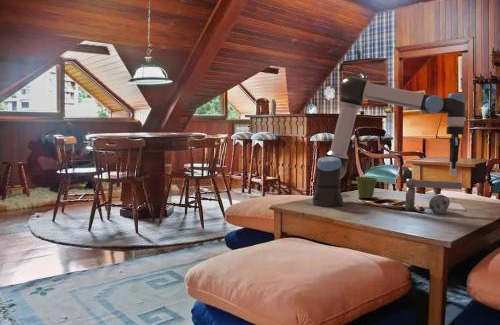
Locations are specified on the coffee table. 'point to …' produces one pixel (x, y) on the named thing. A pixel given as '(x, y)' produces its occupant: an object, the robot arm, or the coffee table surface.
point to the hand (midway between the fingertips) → (452, 175)
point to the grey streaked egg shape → (439, 204)
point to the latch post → (410, 198)
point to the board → (451, 207)
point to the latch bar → (433, 184)
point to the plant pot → (366, 186)
